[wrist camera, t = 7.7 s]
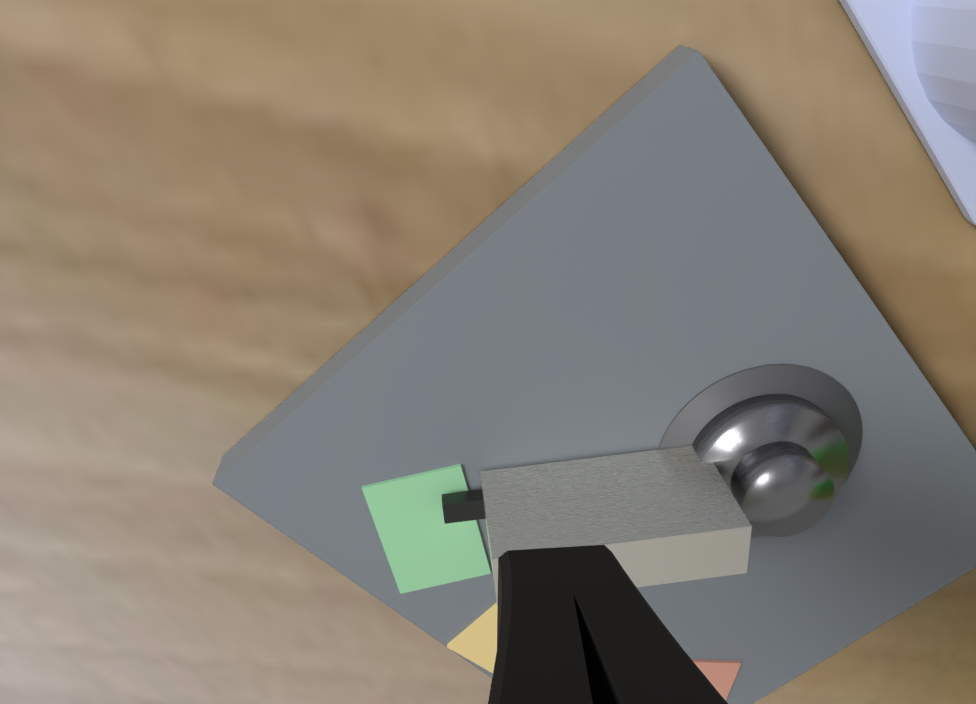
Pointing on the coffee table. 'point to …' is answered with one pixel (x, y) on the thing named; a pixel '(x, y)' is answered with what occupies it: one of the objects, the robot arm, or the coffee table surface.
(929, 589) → the tuner board
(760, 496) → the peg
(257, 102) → the coffee table surface
